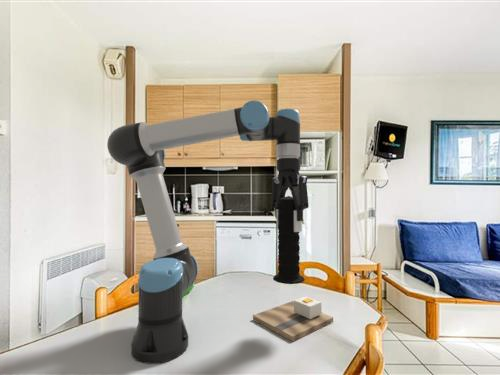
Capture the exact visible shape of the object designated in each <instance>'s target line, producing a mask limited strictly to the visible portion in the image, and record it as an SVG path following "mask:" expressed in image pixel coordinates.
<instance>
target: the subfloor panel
mask: <svg viewBox="0 0 500 375" xmlns="http://www.w3.org/2000/svg"><path fill="white" fill-rule="evenodd" d="M252 320H253V321H255V322H256V323H258V324H259V325H261V326H263V327H265V328H267V329H269V330H271V331H272V332H274V333H276V334H278V335H280V336H281V337H284V338H285V339H287V340H289V341H290V342H294V341H297V340H299V339H301V338H304V337H305V336H307V335H310V334H312V333H313V332H315V331H317V330H319V329H322V328H324V327H326V326H327V325H329V324H332V323H334V317H333V316H331V315H328V314H326V313H323V311H321V315H318V316H316V317H314V318H311V319H309V318H307V317H304V316H302V315H300V314H298V313H295V312H294V300H292V301H289V302H287V303H284V304H280V305H278V306H275V307H272V308H270V309H267V310H265V311H264V310H263V311H261V312H259V313H255V314H253V315H252Z"/></svg>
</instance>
